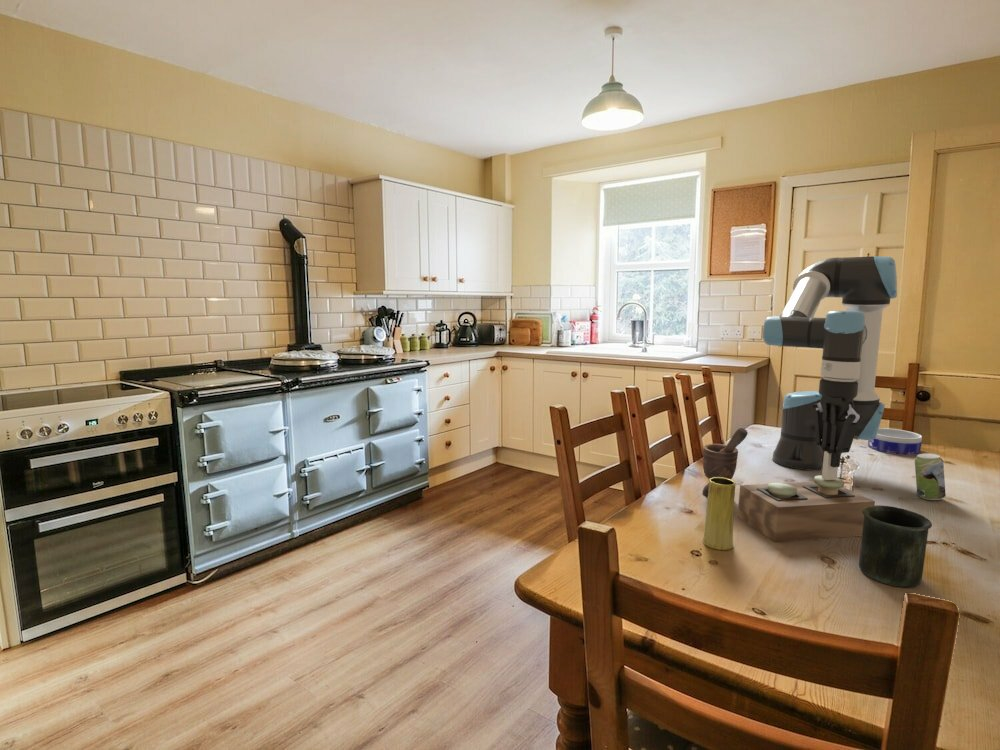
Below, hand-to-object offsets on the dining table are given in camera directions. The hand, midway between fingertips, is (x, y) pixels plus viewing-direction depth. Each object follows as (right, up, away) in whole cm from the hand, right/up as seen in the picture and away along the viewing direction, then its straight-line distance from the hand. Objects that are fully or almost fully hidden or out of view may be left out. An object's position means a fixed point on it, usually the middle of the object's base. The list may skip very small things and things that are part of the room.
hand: (829, 478), depth 128 cm
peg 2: (0, -8, +1) cm, 8 cm away
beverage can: (+38, -9, +19) cm, 43 cm away
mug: (0, -15, -20) cm, 25 cm away
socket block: (-6, -11, +1) cm, 13 cm away
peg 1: (-12, -10, 0) cm, 15 cm away
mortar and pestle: (-17, -9, +19) cm, 27 cm away
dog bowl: (+62, -2, +66) cm, 91 cm away
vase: (-30, -13, -9) cm, 33 cm away
